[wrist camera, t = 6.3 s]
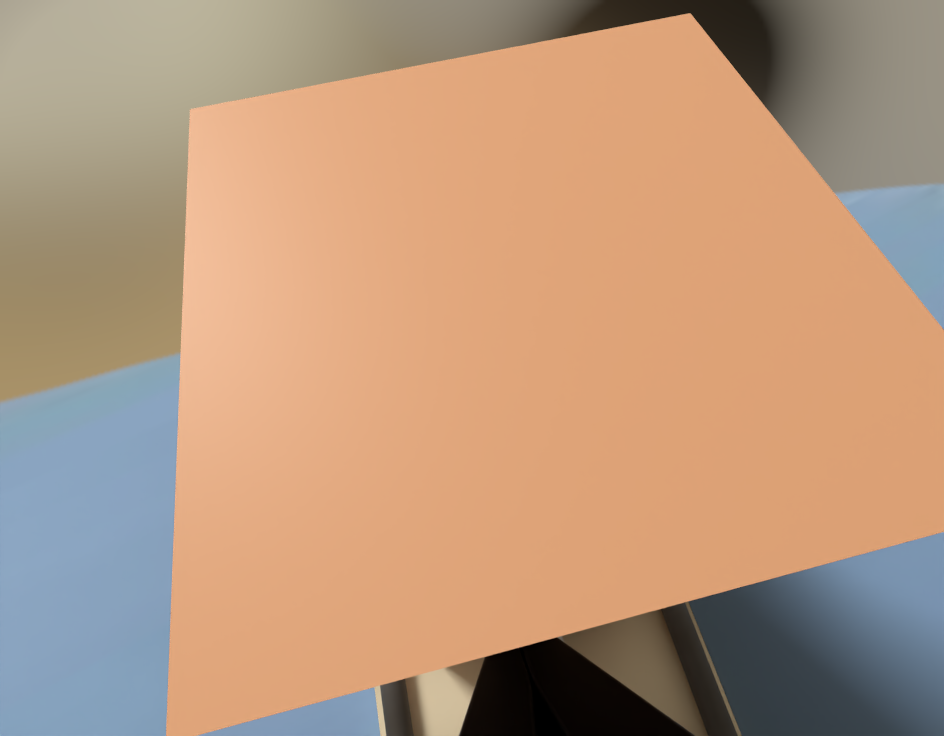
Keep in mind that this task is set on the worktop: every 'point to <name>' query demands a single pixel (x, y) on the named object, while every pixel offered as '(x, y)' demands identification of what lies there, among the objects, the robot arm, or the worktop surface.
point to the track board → (609, 647)
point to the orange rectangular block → (520, 367)
